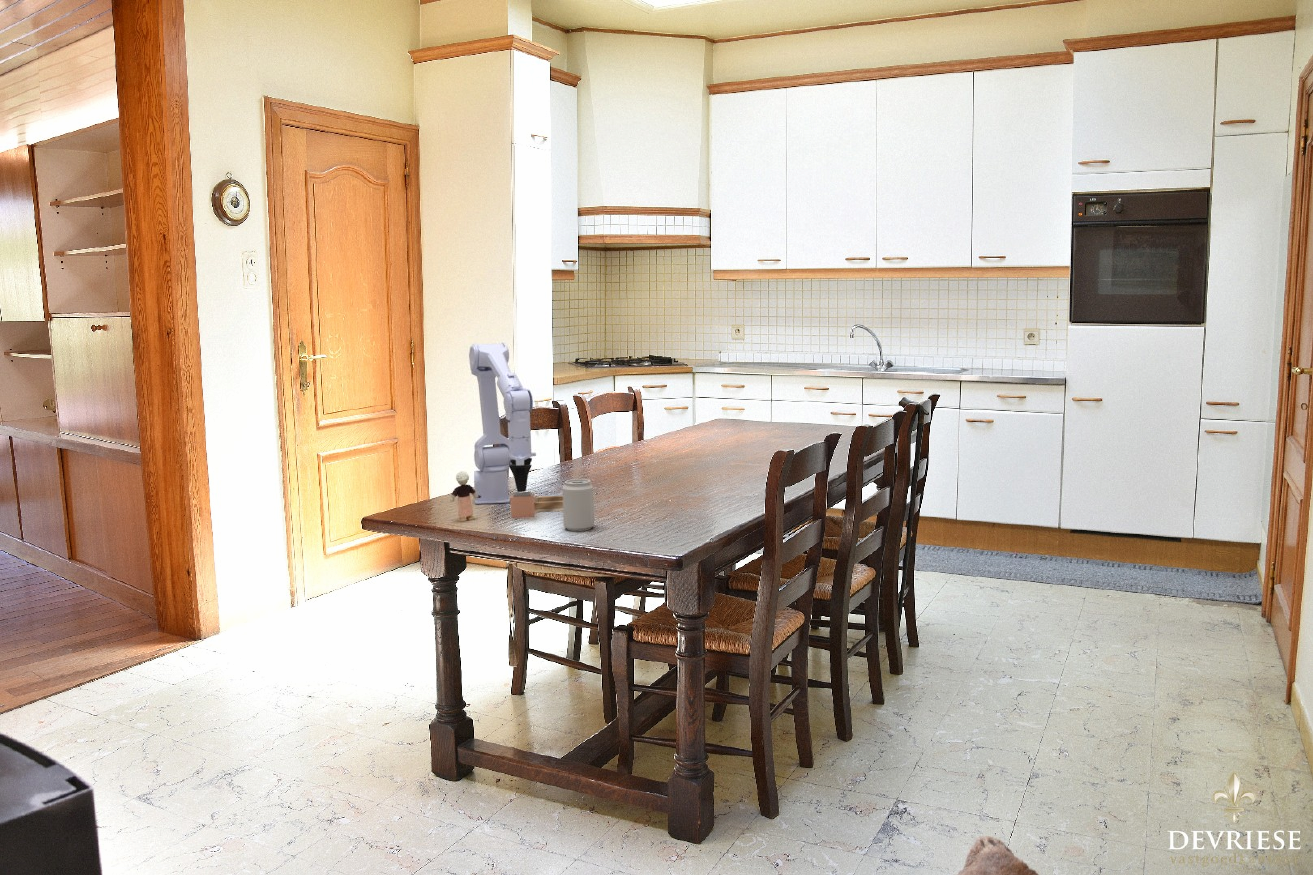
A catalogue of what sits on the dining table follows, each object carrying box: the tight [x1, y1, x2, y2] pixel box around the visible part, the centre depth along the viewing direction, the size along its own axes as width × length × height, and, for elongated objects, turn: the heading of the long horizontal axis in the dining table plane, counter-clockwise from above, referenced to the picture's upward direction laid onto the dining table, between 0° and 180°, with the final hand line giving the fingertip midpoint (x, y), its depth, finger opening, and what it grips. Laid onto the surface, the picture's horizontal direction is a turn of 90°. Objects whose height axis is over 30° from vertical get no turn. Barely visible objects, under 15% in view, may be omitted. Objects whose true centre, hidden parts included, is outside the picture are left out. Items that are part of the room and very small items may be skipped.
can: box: [561, 478, 595, 532], centre depth 251 cm, size 8×8×12 cm
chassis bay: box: [534, 495, 563, 513], centre depth 276 cm, size 16×9×2 cm, turn 96°
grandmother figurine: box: [449, 471, 478, 522], centre depth 263 cm, size 8×4×13 cm, turn 141°
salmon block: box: [509, 491, 536, 519], centre depth 267 cm, size 6×4×6 cm, turn 96°
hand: (521, 488), depth 266 cm, fingers open, 7 cm apart
